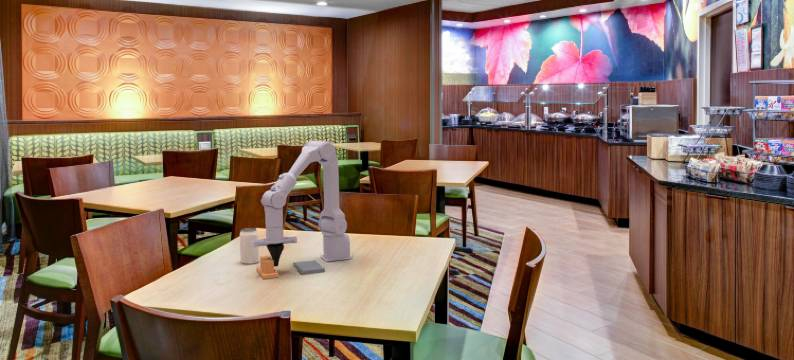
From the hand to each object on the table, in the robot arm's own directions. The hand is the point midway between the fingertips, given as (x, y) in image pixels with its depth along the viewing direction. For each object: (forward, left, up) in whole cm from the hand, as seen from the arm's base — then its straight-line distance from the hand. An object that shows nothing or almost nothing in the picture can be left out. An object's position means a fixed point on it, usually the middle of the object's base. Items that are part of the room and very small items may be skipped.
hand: (275, 265), depth 207 cm
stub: (+3, 0, -2) cm, 4 cm away
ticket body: (-11, 0, -2) cm, 12 cm away
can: (+6, -18, -3) cm, 19 cm away
